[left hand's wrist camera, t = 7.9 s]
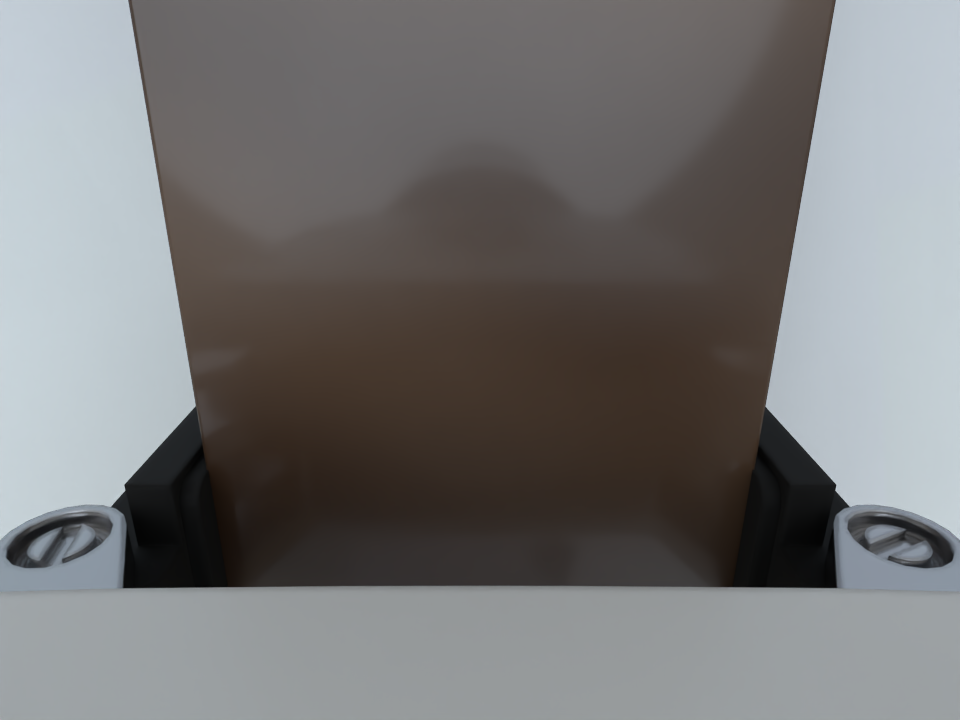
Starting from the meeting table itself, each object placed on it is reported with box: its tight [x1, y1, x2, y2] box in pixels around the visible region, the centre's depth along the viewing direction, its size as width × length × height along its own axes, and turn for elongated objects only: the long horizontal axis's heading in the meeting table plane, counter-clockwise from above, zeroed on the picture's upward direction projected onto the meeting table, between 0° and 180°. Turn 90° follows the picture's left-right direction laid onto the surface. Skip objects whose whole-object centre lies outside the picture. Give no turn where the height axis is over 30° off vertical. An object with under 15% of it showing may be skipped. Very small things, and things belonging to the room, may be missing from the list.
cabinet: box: [128, 0, 836, 587], centre depth 11 cm, size 19×6×10 cm, turn 0°
